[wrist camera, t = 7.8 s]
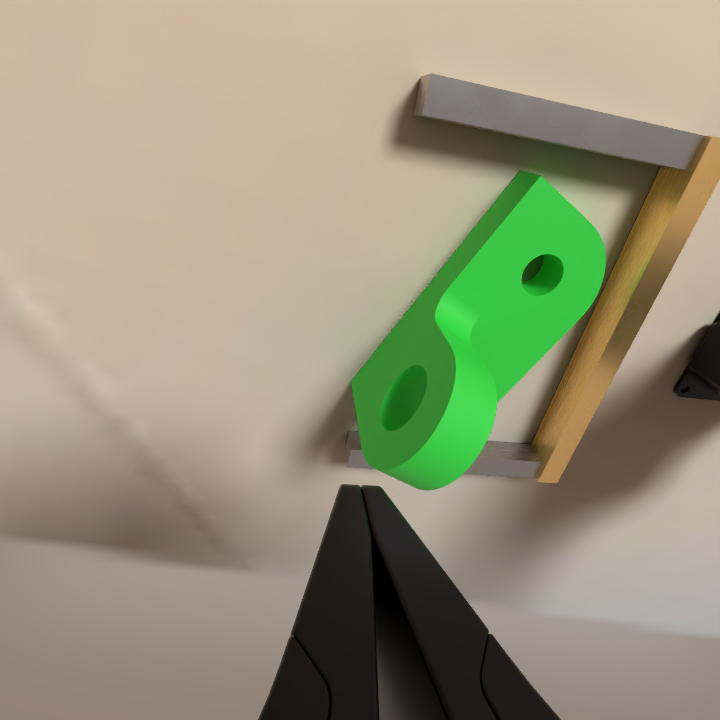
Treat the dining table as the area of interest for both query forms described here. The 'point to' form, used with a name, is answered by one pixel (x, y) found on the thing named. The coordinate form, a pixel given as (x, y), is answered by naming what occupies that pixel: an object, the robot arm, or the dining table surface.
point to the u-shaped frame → (631, 272)
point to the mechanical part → (476, 335)
